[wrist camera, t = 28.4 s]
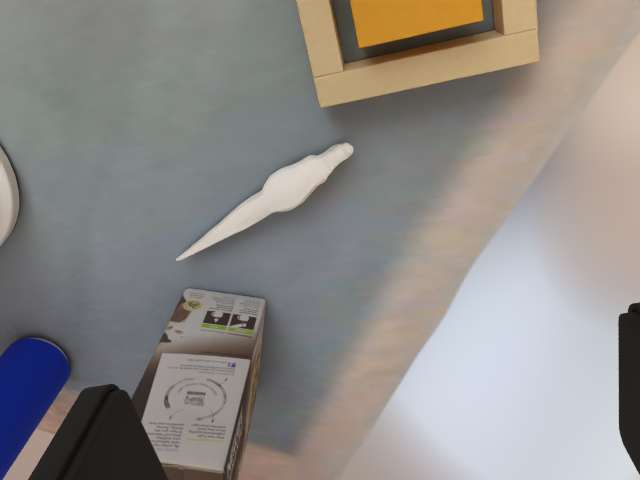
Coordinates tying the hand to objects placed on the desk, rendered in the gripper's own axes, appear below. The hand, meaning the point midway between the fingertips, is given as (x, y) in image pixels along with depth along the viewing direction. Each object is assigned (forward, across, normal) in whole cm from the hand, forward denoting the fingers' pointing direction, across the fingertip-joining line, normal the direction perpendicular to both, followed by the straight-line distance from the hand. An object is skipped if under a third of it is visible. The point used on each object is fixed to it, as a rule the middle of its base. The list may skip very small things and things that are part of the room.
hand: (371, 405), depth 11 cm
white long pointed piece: (+28, +8, +6) cm, 30 cm away
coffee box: (+28, +14, +17) cm, 36 cm away
